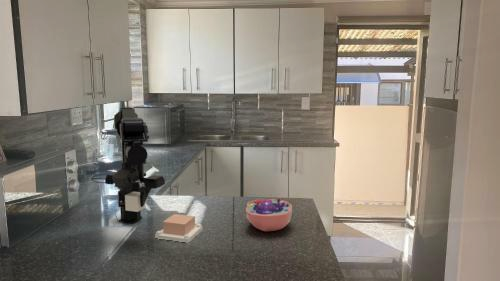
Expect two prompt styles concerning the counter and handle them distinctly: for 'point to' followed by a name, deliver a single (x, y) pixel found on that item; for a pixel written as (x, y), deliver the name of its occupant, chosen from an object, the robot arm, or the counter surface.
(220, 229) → the counter surface
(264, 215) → the cell model
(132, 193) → the cream brick
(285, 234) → the counter surface
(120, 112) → the robot arm
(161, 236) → the base plate
